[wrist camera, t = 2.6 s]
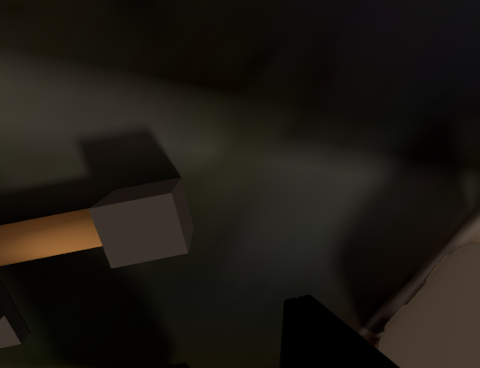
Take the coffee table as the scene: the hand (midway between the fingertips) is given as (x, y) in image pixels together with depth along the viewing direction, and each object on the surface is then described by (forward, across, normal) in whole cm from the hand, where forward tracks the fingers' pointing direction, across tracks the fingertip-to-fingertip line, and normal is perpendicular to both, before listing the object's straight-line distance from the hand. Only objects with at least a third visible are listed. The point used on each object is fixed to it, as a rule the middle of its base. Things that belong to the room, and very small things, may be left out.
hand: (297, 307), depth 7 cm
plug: (+12, +12, 0) cm, 17 cm away
